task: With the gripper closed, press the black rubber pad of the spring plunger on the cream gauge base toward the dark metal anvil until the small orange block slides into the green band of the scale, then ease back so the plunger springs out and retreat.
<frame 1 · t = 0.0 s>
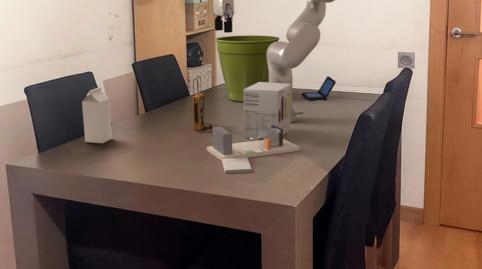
hand: (223, 31, 238), 37 cm above the table, tool pointing down, fingers open, 9 cm apart
small orange block: (267, 143, 209), point 3 cm above the table, slide at 0.0 cm
gauge base: (252, 150, 213), on the table
plant pot: (248, 99, 300), on the table
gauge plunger: (266, 137, 213), point 4 cm above the table, slide at 0.0 cm
handheld game console: (318, 98, 301), on the table
multimeter: (208, 129, 244), on the table
milk carton: (98, 141, 229), on the table
external hard drive: (236, 168, 196), on the table
supplement box: (267, 134, 235), on the table
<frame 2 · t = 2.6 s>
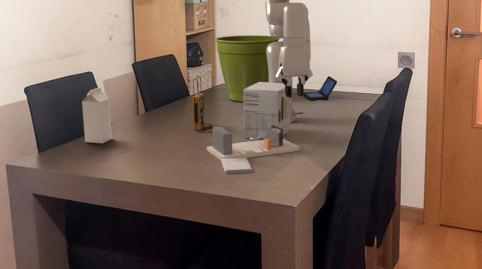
hand: (294, 96, 215), 17 cm above the table, tool pointing down, fingers open, 3 cm apart
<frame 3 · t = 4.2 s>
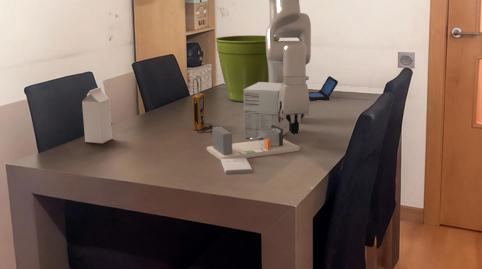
hand: (294, 133, 218), 4 cm above the table, tool pointing down, fingers closed
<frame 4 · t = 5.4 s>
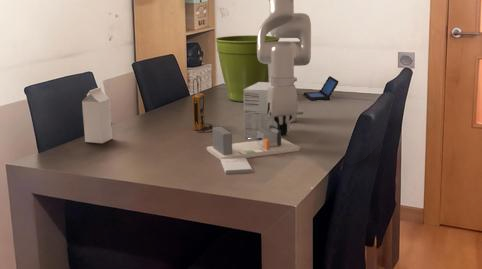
hand: (282, 134, 216), 4 cm above the table, tool pointing down, fingers closed
small orange block: (266, 144, 208), point 3 cm above the table, slide at 0.4 cm, touching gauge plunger
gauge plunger: (264, 137, 212), point 4 cm above the table, slide at 0.7 cm, touching gripper, small orange block
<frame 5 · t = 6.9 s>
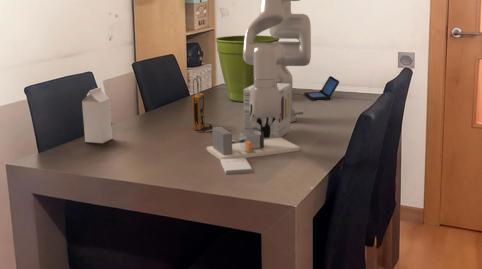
hand: (265, 137, 214), 4 cm above the table, tool pointing down, fingers closed
small orange block: (248, 146, 206), point 3 cm above the table, slide at 6.8 cm, touching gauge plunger
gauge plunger: (246, 140, 210), point 4 cm above the table, slide at 7.1 cm, touching gripper, small orange block
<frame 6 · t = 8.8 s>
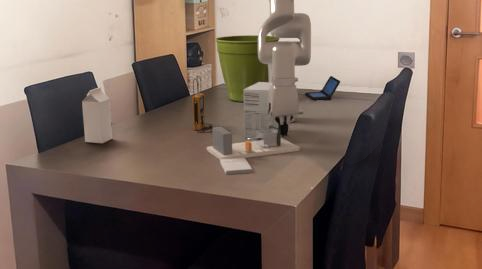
hand: (283, 135, 216), 4 cm above the table, tool pointing down, fingers closed
small orange block: (248, 146, 206), point 3 cm above the table, slide at 6.8 cm
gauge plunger: (263, 138, 212), point 4 cm above the table, slide at 0.9 cm
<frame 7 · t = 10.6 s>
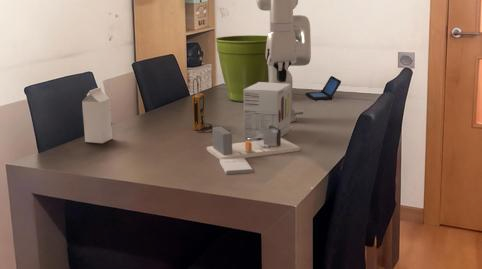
hand: (281, 81, 218), 22 cm above the table, tool pointing down, fingers closed
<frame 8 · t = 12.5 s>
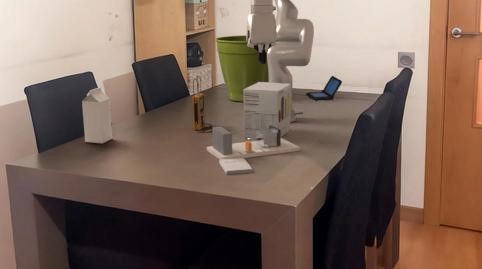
hand: (262, 63, 223), 27 cm above the table, tool pointing down, fingers closed
at the end: small orange block slide at 6.8 cm; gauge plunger slide at 0.9 cm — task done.
